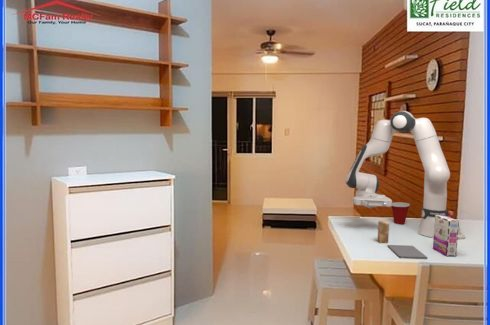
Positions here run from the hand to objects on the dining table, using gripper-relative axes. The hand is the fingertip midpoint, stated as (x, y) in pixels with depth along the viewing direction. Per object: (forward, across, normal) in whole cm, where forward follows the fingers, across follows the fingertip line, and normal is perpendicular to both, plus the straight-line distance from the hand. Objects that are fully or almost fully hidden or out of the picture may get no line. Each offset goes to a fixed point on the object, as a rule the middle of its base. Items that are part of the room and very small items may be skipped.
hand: (376, 204), depth 200 cm
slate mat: (+27, +7, +16) cm, 32 cm away
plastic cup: (-27, +23, +16) cm, 39 cm away
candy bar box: (+25, +25, +16) cm, 39 cm away
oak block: (+12, +1, +16) cm, 20 cm away
